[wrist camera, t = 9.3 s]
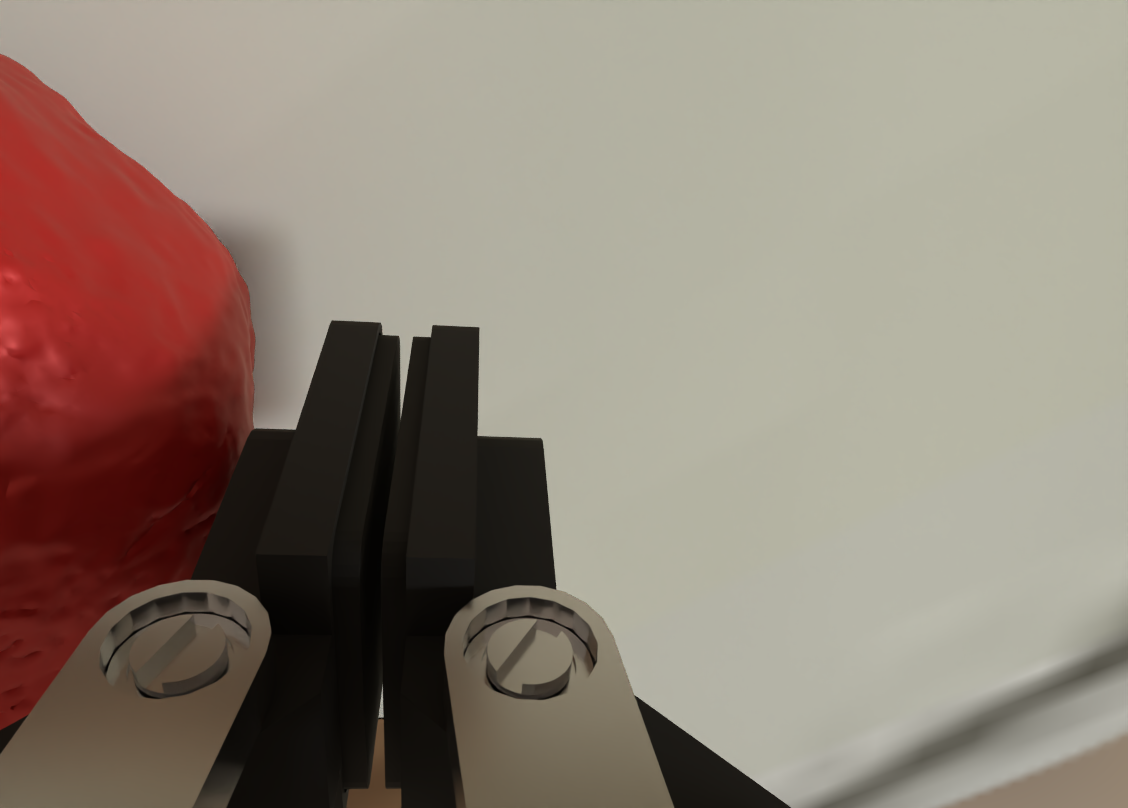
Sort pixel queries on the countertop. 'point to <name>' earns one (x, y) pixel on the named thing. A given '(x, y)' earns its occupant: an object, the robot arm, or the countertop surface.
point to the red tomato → (103, 383)
